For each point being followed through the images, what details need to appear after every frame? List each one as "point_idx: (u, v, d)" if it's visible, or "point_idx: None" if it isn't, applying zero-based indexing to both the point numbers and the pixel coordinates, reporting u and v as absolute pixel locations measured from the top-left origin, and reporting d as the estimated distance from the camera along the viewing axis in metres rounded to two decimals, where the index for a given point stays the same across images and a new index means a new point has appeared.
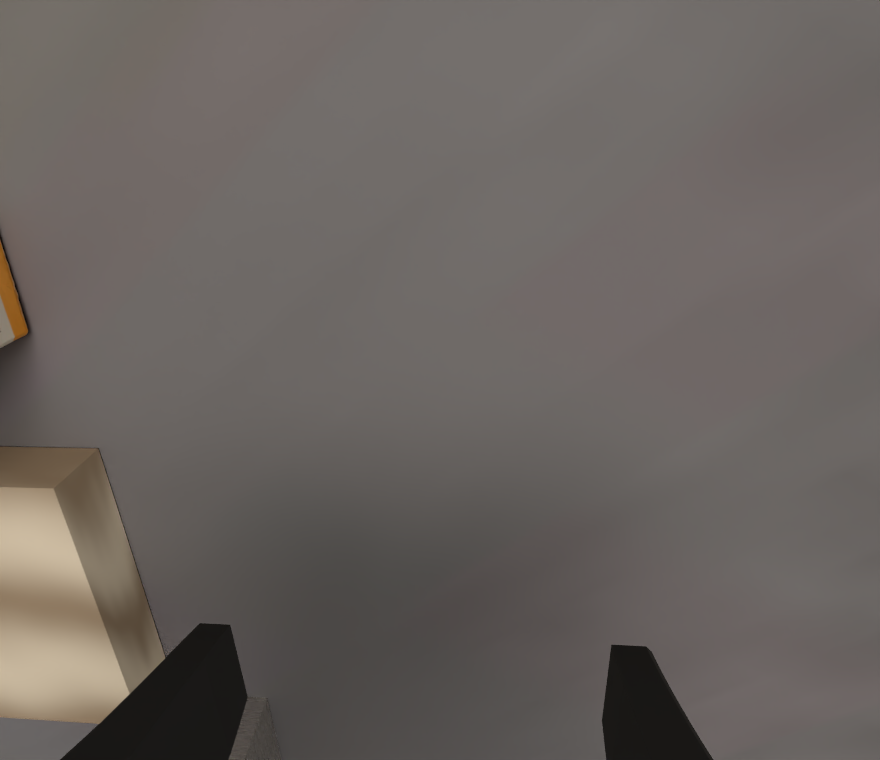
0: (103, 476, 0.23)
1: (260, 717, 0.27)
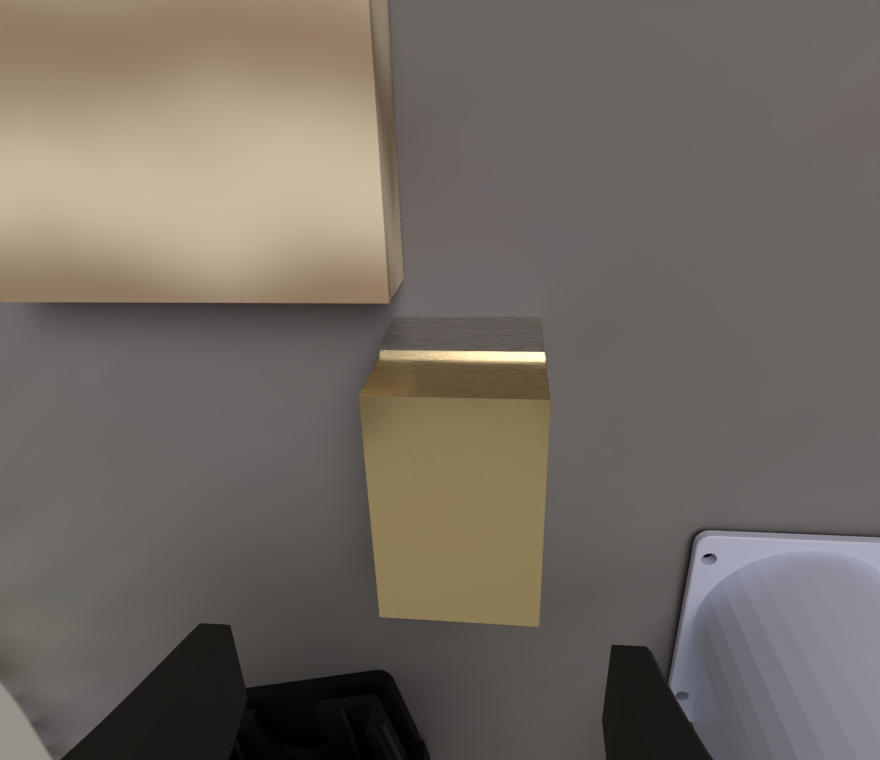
0: None
1: None
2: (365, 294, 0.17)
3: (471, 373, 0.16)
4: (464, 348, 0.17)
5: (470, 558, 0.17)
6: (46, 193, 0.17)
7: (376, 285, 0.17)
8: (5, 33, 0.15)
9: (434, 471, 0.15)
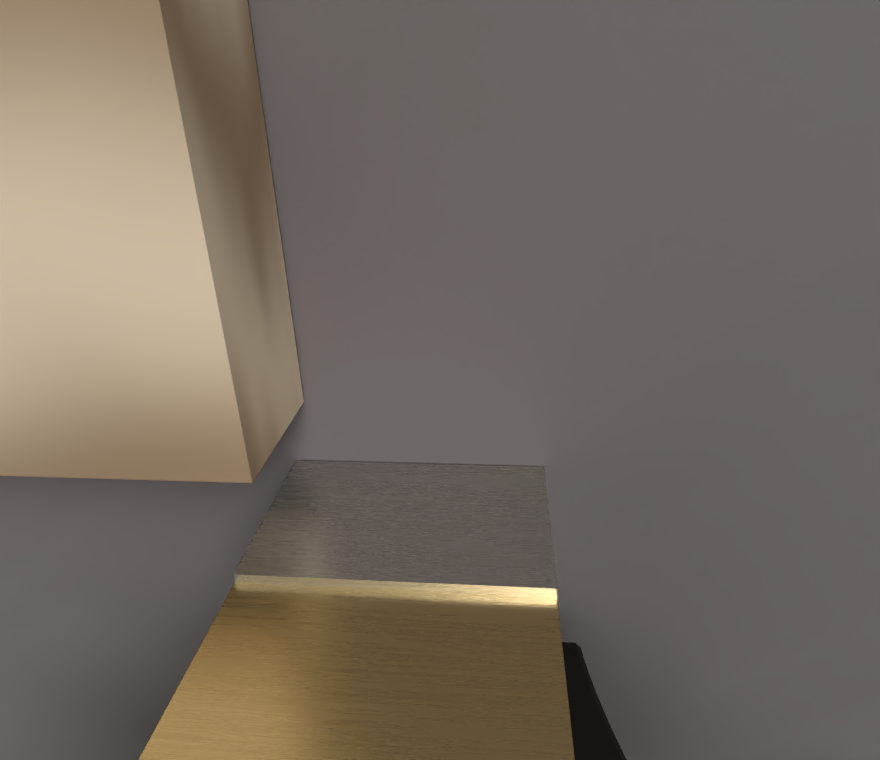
0: None
1: (547, 503, 0.10)
2: (205, 466, 0.09)
3: (404, 660, 0.08)
4: (398, 571, 0.09)
5: None
6: None
7: (224, 451, 0.08)
8: None
9: None
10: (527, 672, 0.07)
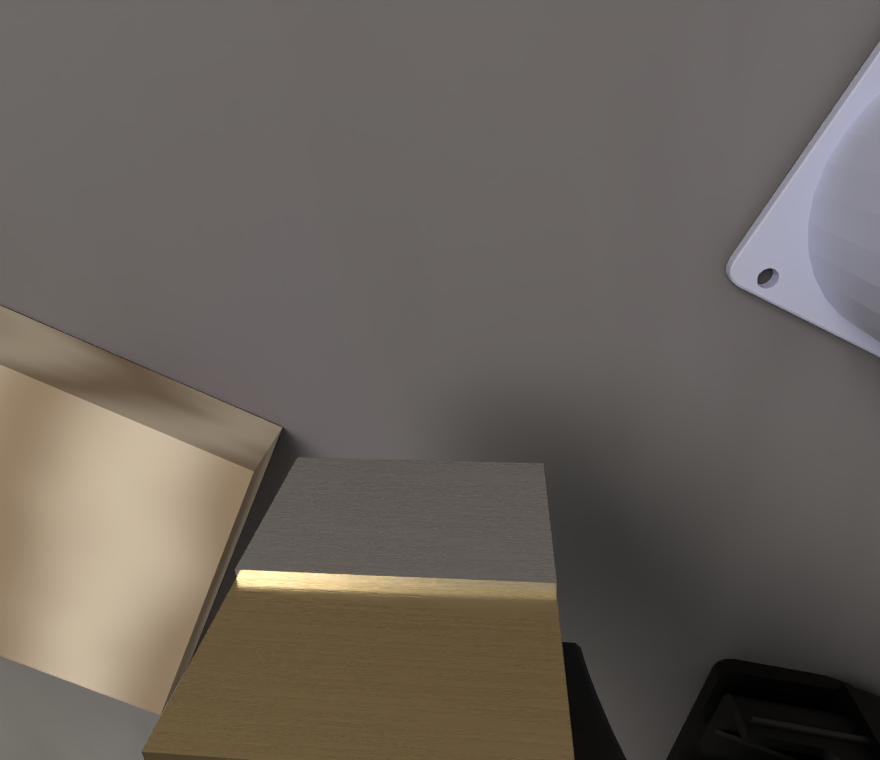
0: None
1: (547, 499, 0.10)
2: (239, 484, 0.17)
3: (405, 653, 0.08)
4: (399, 566, 0.09)
5: None
6: (91, 637, 0.21)
7: (233, 472, 0.17)
8: None
9: None
10: (526, 665, 0.07)
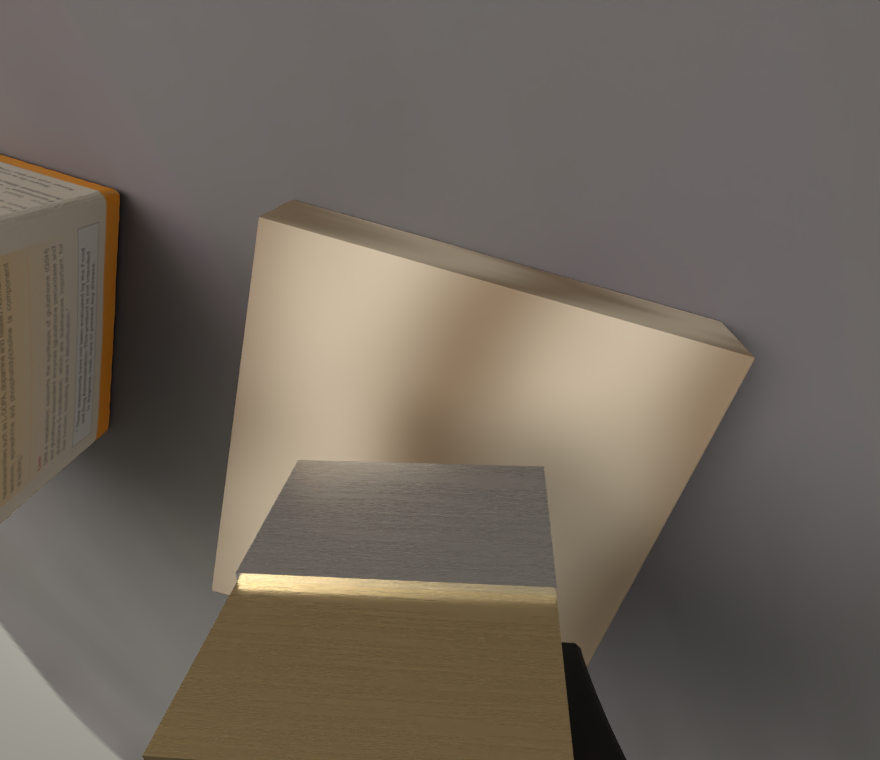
0: (331, 212, 0.16)
1: (547, 503, 0.10)
2: (732, 378, 0.15)
3: (405, 657, 0.08)
4: (399, 570, 0.09)
5: None
6: None
7: (728, 363, 0.14)
8: None
9: None
10: (527, 670, 0.07)
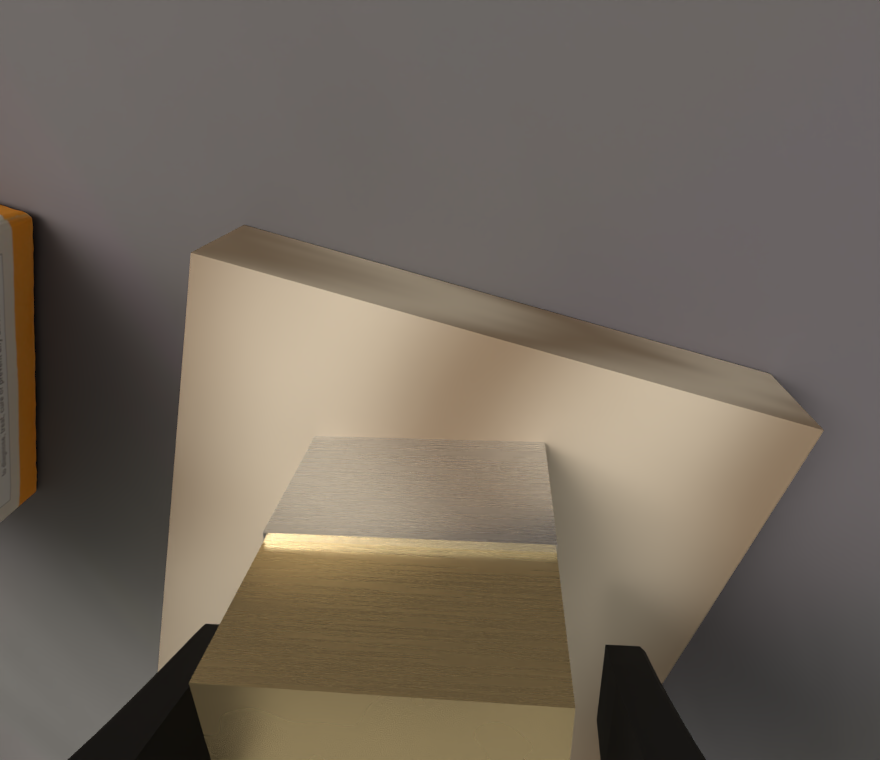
0: (291, 240, 0.13)
1: (548, 474, 0.11)
2: (793, 455, 0.12)
3: (420, 603, 0.08)
4: (413, 530, 0.10)
5: None
6: None
7: (789, 437, 0.11)
8: None
9: None
10: (530, 613, 0.08)
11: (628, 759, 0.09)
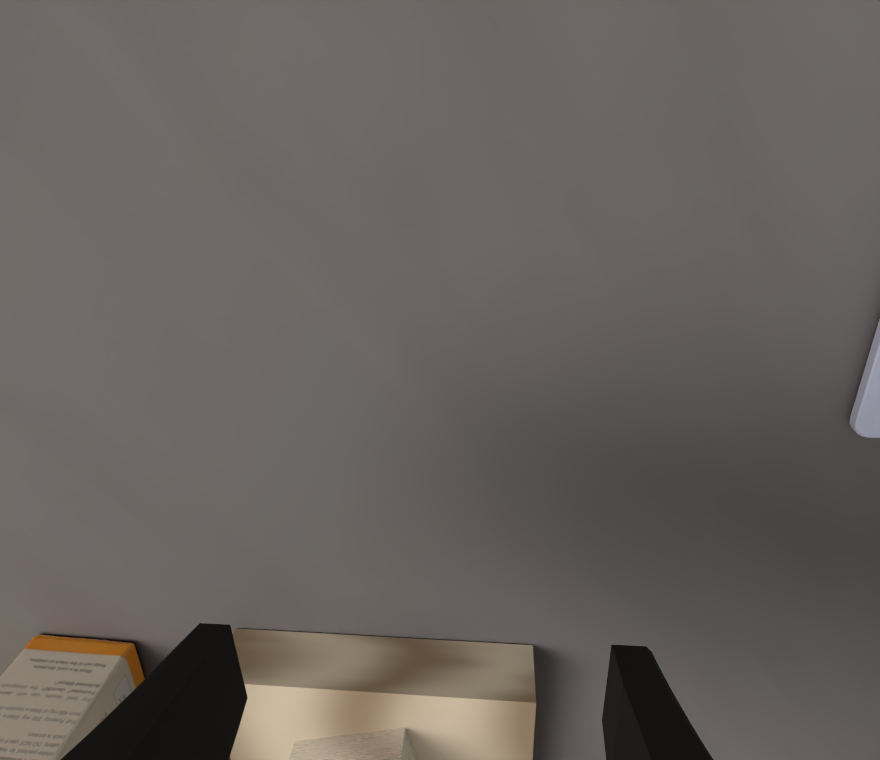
0: (261, 633, 0.25)
1: (401, 754, 0.22)
2: (528, 714, 0.22)
3: None
4: None
5: None
6: None
7: (521, 707, 0.22)
8: None
9: None
10: None
11: (635, 759, 0.09)
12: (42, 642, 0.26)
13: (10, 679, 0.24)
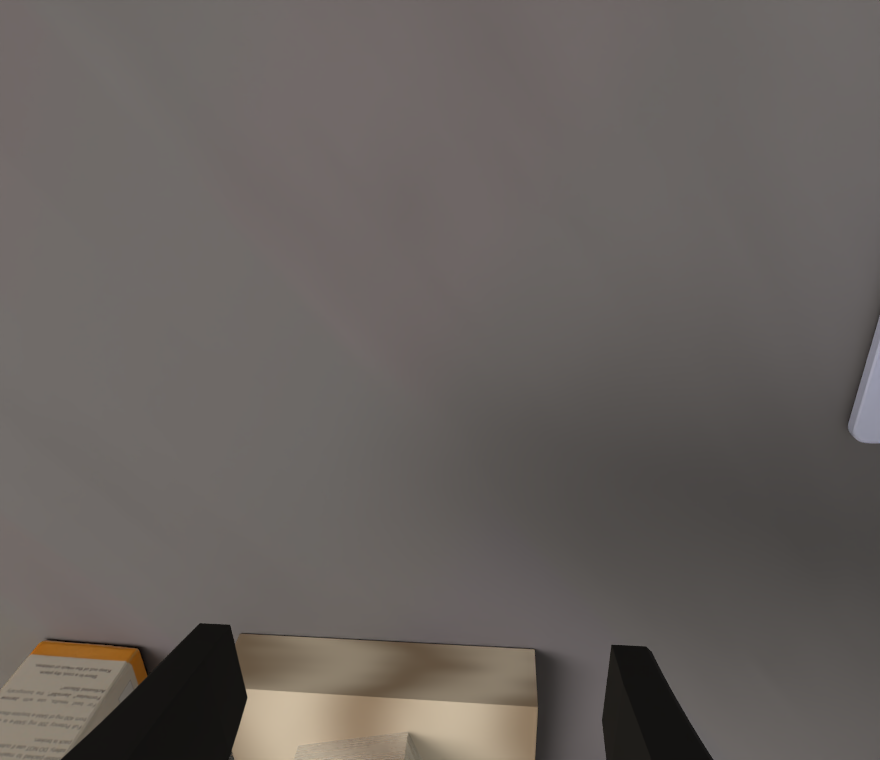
0: (264, 638, 0.25)
1: (404, 759, 0.22)
2: (530, 718, 0.22)
3: None
4: None
5: None
6: None
7: (523, 712, 0.22)
8: None
9: None
10: None
11: None
12: (48, 648, 0.26)
13: (16, 685, 0.24)
